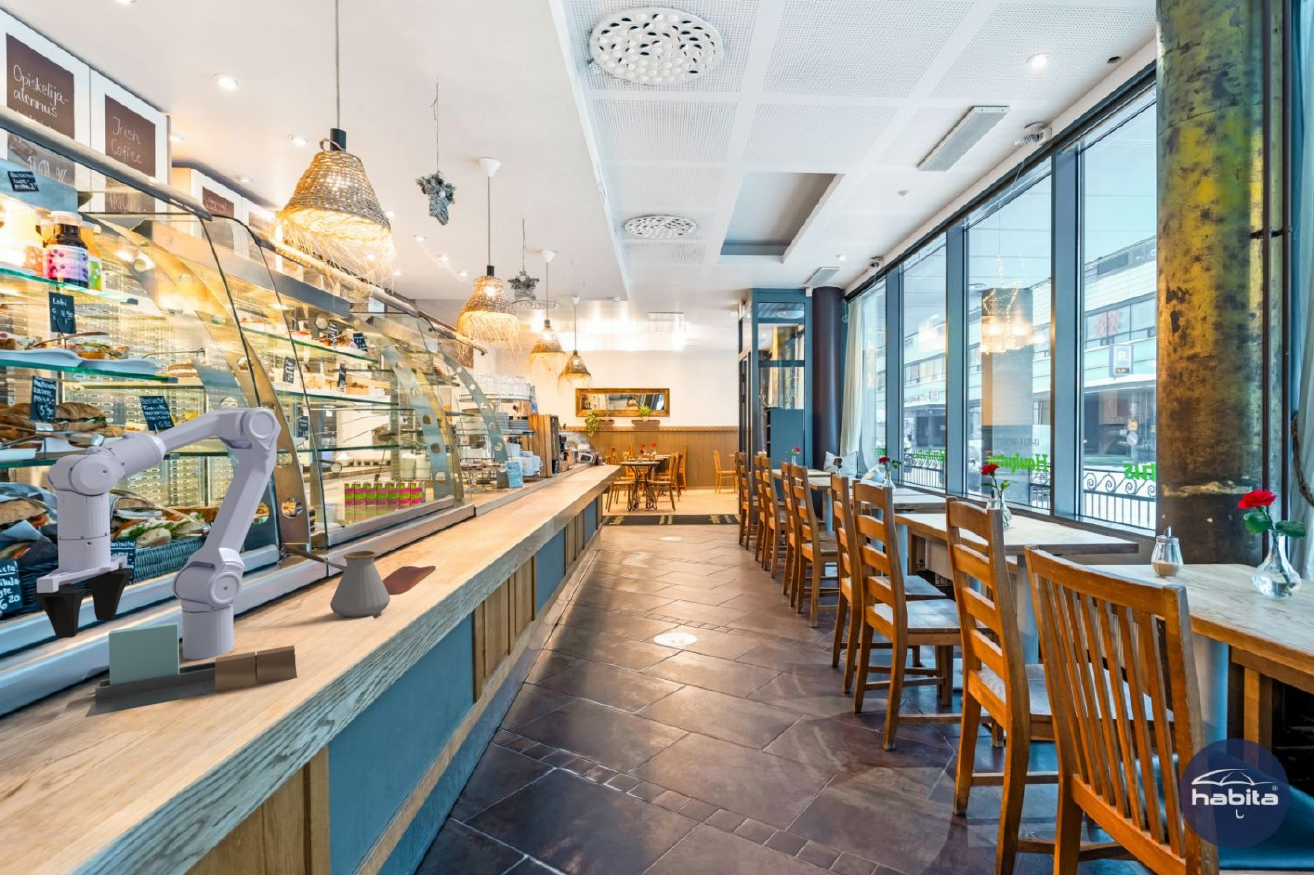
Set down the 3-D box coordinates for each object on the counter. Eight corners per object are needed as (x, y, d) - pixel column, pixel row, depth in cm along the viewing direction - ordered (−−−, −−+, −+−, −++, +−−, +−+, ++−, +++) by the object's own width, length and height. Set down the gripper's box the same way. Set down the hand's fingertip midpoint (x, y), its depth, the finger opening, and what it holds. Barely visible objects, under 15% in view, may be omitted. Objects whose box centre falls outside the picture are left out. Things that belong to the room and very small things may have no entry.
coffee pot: (397, 605, 140) (396, 538, 139) (381, 622, 129) (380, 549, 128) (294, 608, 137) (293, 539, 137) (268, 626, 126) (267, 551, 125)
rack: (103, 692, 96) (102, 676, 96) (294, 660, 109) (294, 645, 109) (85, 723, 86) (85, 705, 86) (297, 683, 99) (297, 668, 99)
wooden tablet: (401, 570, 174) (401, 564, 174) (438, 570, 174) (438, 563, 174) (359, 598, 147) (359, 590, 147) (402, 597, 148) (402, 590, 148)
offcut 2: (257, 679, 98) (256, 651, 98) (294, 673, 101) (294, 645, 101) (257, 684, 97) (256, 655, 96) (295, 677, 99) (294, 649, 99)
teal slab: (112, 690, 94) (110, 630, 94) (179, 679, 98) (178, 621, 98) (110, 694, 93) (108, 633, 93) (178, 682, 97) (177, 624, 97)
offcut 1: (216, 687, 96) (215, 657, 95) (255, 680, 98) (255, 651, 98) (215, 692, 94) (215, 662, 94) (255, 684, 96) (255, 655, 96)
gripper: (76, 546, 87) (78, 644, 87) (147, 527, 101) (149, 611, 101) (18, 547, 86) (21, 646, 86) (98, 527, 100) (100, 613, 101)
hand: (86, 627), depth 94 cm, fingers open, 7 cm apart
